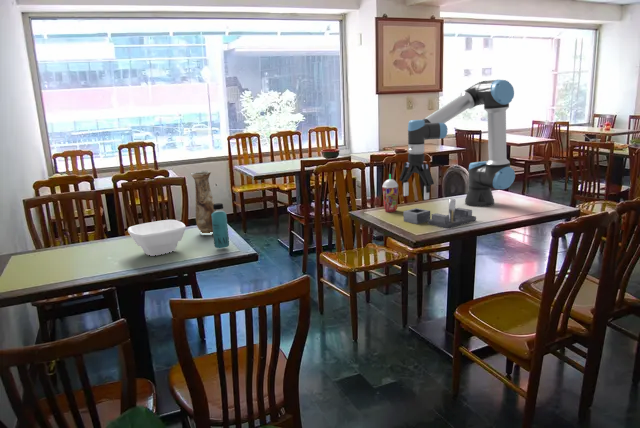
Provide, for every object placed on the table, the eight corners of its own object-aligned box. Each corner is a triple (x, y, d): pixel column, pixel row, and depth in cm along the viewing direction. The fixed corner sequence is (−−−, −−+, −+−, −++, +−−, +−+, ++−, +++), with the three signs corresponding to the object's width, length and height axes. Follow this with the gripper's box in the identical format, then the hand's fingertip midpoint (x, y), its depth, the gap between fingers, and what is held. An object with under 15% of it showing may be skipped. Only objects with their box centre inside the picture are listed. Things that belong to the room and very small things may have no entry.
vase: (223, 232, 238) (217, 171, 231) (204, 237, 231) (197, 174, 224) (211, 229, 245) (205, 169, 239) (192, 234, 238) (185, 172, 231)
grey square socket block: (416, 217, 246) (416, 208, 245) (430, 220, 239) (430, 210, 238) (403, 221, 241) (403, 211, 240) (417, 224, 234) (416, 213, 233)
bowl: (126, 252, 213) (122, 227, 211) (176, 242, 226) (173, 217, 223) (141, 265, 196) (137, 236, 193) (194, 253, 208) (191, 226, 205)
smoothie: (395, 213, 258) (394, 175, 254) (380, 212, 262) (379, 175, 258) (400, 209, 265) (400, 173, 261) (386, 209, 269) (385, 172, 265)
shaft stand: (456, 216, 244) (456, 194, 242) (476, 220, 234) (476, 198, 232) (427, 224, 233) (427, 201, 231) (447, 228, 224) (447, 204, 221)
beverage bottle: (217, 247, 214) (212, 202, 210) (232, 247, 213) (227, 201, 209) (212, 251, 208) (207, 205, 203) (227, 251, 207) (223, 205, 203)
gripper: (392, 152, 241) (392, 195, 245) (430, 155, 221) (430, 202, 225) (403, 151, 245) (403, 193, 250) (442, 154, 225) (441, 199, 229)
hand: (416, 197), depth 237 cm, fingers open, 13 cm apart
